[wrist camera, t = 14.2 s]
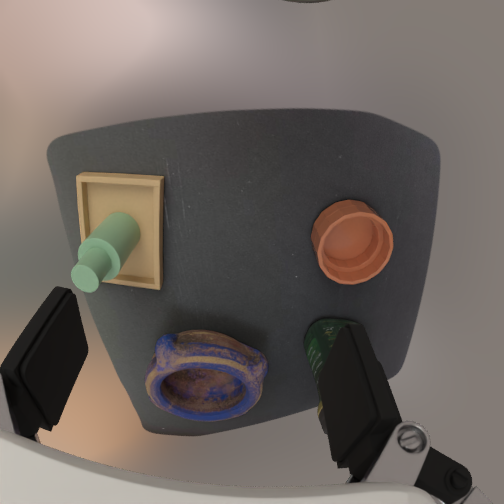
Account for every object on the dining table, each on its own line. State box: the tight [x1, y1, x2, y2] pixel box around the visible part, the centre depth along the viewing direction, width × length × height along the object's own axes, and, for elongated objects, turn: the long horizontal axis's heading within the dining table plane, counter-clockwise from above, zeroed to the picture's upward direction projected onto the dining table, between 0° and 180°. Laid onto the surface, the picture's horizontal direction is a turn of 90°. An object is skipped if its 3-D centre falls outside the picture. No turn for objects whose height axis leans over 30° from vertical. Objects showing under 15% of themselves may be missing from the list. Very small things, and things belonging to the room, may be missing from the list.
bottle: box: [71, 212, 140, 292], centre depth 35 cm, size 6×6×12 cm
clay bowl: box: [311, 200, 393, 285], centre depth 39 cm, size 10×10×5 cm
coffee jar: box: [304, 318, 358, 435], centre depth 42 cm, size 10×8×19 cm
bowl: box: [145, 330, 269, 421], centre depth 47 cm, size 18×18×10 cm
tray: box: [76, 172, 164, 290], centre depth 40 cm, size 16×12×2 cm
